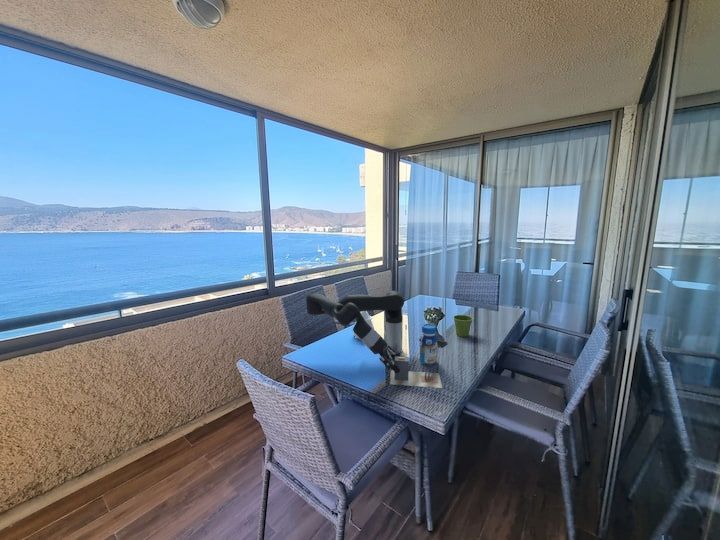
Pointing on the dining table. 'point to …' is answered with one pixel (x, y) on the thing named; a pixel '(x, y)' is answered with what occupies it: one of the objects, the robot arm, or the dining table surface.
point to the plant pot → (462, 324)
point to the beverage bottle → (428, 345)
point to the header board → (418, 379)
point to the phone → (440, 343)
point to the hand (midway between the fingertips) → (398, 367)
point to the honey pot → (366, 318)
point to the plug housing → (402, 368)
